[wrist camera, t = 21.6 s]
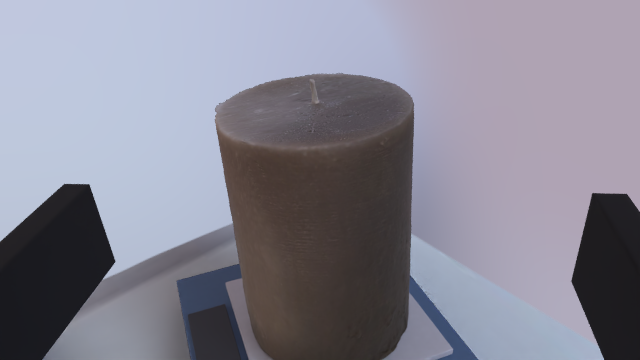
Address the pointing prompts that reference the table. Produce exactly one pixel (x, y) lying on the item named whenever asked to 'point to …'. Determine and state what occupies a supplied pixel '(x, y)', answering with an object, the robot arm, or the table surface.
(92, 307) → the table surface
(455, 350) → the scale
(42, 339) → the robot arm
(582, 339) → the table surface
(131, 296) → the table surface
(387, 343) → the pillar candle
